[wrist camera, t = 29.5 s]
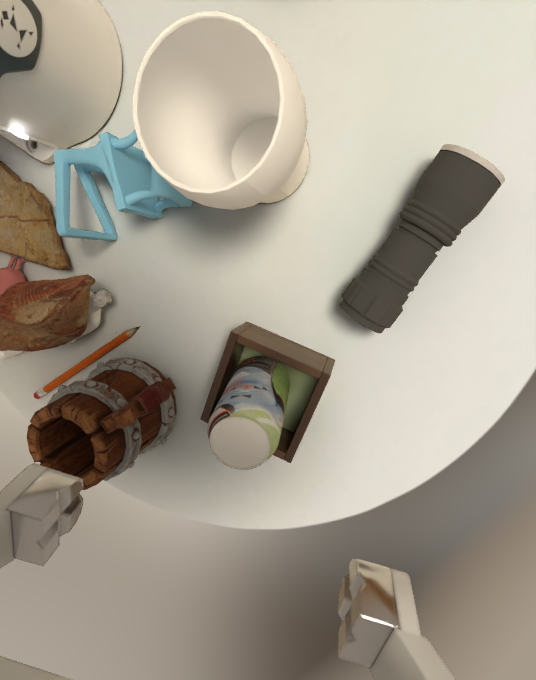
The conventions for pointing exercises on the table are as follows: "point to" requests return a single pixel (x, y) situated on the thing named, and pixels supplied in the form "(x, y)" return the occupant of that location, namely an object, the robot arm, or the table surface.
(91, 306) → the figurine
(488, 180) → the flashlight
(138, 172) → the chair
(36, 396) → the pencil
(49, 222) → the fossil
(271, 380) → the beverage can
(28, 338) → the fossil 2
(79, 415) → the mug
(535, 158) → the table surface
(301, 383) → the can holder
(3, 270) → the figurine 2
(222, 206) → the cup
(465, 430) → the table surface
